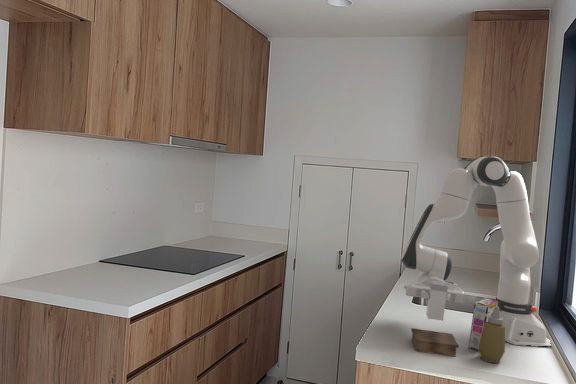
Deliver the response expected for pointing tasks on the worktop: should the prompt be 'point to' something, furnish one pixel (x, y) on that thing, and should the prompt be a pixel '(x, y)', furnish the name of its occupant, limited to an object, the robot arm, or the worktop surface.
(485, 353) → the squeeze bottle
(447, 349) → the stand
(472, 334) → the candy bar box
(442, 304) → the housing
